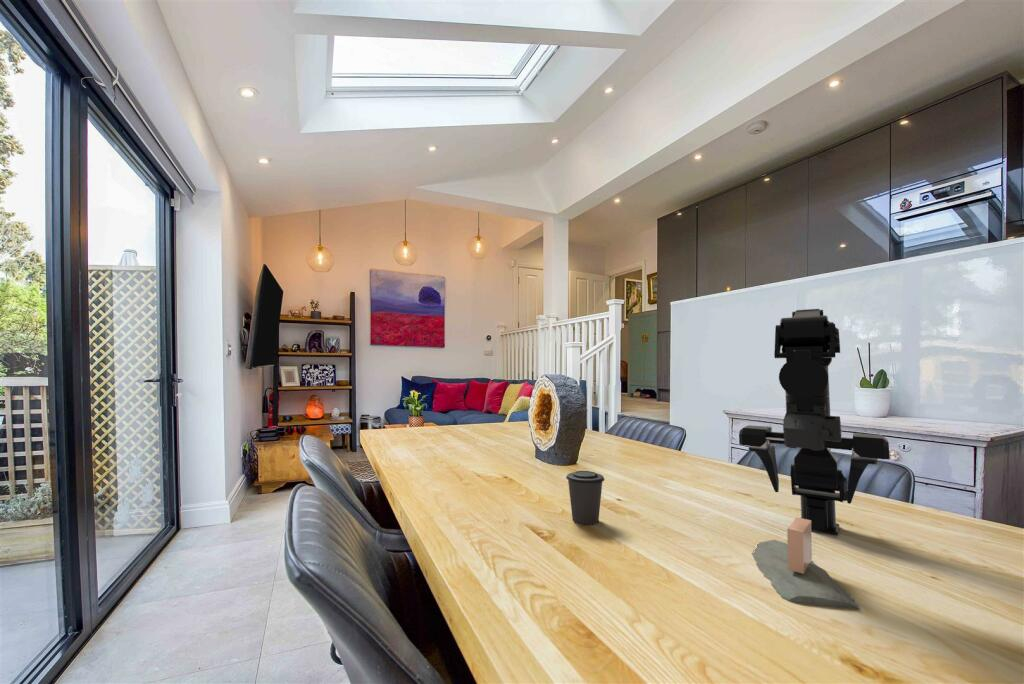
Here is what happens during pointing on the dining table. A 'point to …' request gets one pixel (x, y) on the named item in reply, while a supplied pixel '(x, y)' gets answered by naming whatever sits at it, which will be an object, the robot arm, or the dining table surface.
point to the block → (799, 545)
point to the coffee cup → (585, 496)
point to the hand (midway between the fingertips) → (811, 497)
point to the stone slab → (799, 578)
